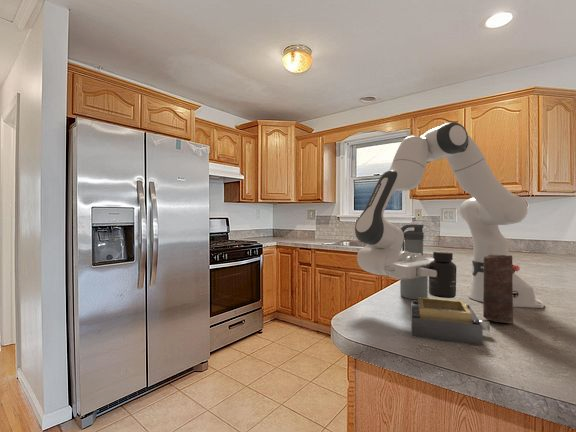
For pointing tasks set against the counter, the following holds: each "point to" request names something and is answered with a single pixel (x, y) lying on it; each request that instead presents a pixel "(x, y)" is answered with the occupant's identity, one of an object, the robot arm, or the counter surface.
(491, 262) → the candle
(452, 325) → the grey and tan box
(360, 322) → the counter surface
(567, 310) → the counter surface
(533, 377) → the counter surface
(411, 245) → the water bottle
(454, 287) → the supplement bottle
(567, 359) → the counter surface
